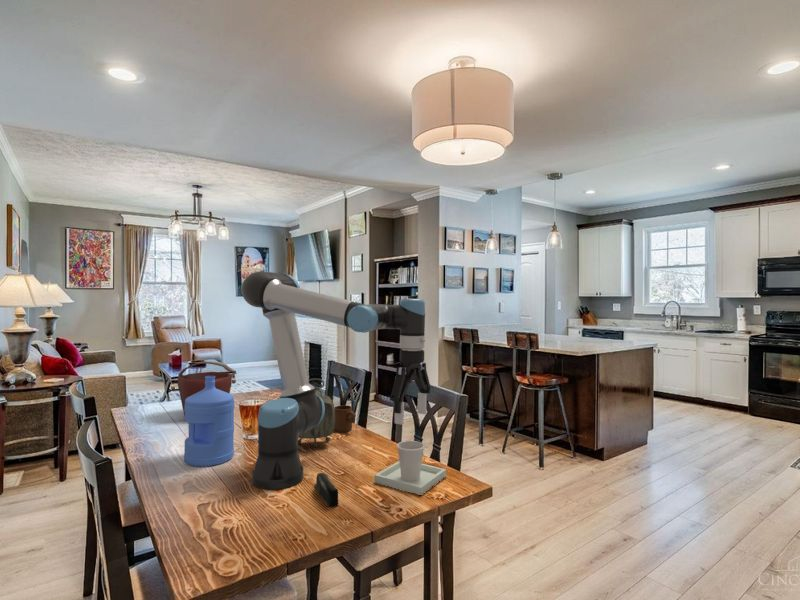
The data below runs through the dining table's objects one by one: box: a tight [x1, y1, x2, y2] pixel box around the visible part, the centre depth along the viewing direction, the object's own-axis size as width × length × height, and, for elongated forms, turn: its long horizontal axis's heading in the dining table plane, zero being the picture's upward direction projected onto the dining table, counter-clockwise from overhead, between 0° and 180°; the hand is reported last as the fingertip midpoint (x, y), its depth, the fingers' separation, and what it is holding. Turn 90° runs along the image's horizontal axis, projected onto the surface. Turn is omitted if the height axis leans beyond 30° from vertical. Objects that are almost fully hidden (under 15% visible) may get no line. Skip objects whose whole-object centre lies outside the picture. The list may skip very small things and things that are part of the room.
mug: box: [334, 405, 356, 433], centre depth 185 cm, size 12×8×9 cm, turn 40°
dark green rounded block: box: [313, 472, 339, 508], centre depth 126 cm, size 5×3×15 cm
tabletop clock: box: [298, 377, 335, 448], centre depth 167 cm, size 14×9×25 cm, turn 108°
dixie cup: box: [396, 440, 425, 481], centre depth 137 cm, size 8×8×10 cm
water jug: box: [183, 376, 235, 467], centre depth 152 cm, size 16×16×28 cm
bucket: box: [177, 361, 236, 417], centre depth 204 cm, size 24×22×25 cm
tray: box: [374, 460, 447, 496], centre depth 137 cm, size 16×16×2 cm
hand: (410, 418), depth 137 cm, fingers open, 13 cm apart
